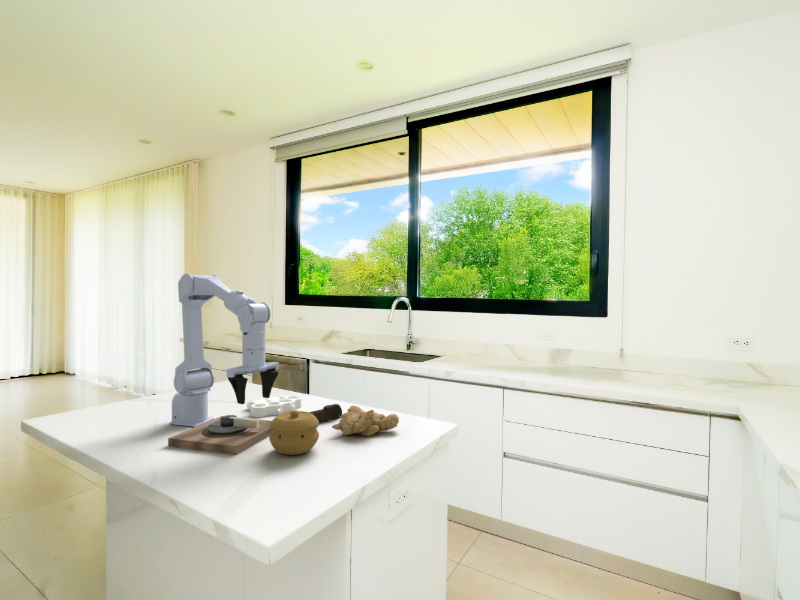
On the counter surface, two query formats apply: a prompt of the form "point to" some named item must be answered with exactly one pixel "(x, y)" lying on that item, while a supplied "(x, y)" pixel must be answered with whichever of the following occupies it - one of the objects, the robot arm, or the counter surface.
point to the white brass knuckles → (274, 405)
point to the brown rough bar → (328, 412)
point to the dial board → (220, 438)
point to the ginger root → (365, 422)
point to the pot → (294, 432)
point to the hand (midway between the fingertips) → (253, 400)
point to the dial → (232, 425)
